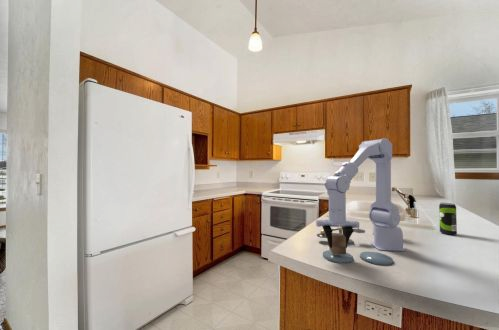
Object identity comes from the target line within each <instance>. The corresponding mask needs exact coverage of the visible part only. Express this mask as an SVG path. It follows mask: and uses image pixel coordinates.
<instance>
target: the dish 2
mask: <svg viewBox="0 0 499 330" xmlns="http://www.w3.org/2000/svg"><path fill="white" fill-rule="evenodd" d="M359 258H360V259H361V260H362V261H364V262H366V263H369V264H373V265H377V266H391V265H393V262H394V260H393V258H392V257H391V256H390V255H387V254H384V253H380V252H378V251H377V252H375V251H362V252H360V254H359Z"/></svg>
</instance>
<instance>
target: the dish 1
mask: <svg viewBox="0 0 499 330" xmlns="http://www.w3.org/2000/svg"><path fill="white" fill-rule="evenodd" d="M322 256H323V257H322V258H324V259H325V260H327V261H330V262H332V263H336V264H337V263H338V264H351V263H352V262H353V261H354V257H353V255H352V254H350V253H348V252H346V254H333V253H332V252H331V251H330V249H328V250H324V251H323V252H322Z"/></svg>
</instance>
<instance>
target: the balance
mask: <svg viewBox="0 0 499 330" xmlns="http://www.w3.org/2000/svg"><path fill="white" fill-rule="evenodd" d="M352 228H353V233H357V234H365V233H366V230H365V229H361V228H360V227H359V228H356V227H352ZM331 229H332V232H333V231H338V233H342V234H343V231H342V227H335V228H331ZM316 236H317V237H318V238H322V239H327V237H326V234H325V231H324V229H321V230H320V231H319V233H317V234H316ZM347 245H355V241H354V240H353V239H350V238H349V241H348V244H347Z"/></svg>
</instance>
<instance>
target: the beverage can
mask: <svg viewBox="0 0 499 330" xmlns="http://www.w3.org/2000/svg"><path fill="white" fill-rule="evenodd" d="M438 209H439V212H438V214H439V216H438V218H439V232H440V233H441V234H443V235H446V236H456V235H457V234H458V231H457V230H458V228H457V225H458V224H457V223H458V222H457V205H456V203H452V202H440V203H439V205H438Z"/></svg>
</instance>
